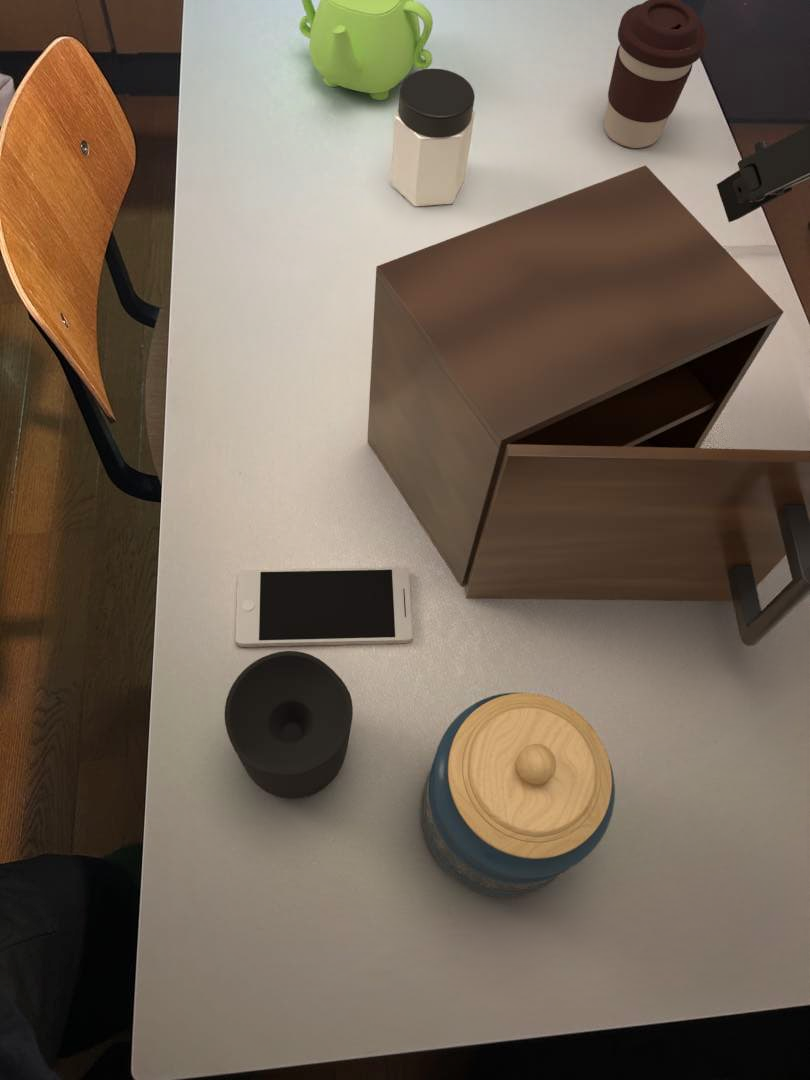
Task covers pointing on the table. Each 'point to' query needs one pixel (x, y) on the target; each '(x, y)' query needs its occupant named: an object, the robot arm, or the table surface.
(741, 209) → the robot arm
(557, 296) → the cupboard
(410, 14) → the teapot
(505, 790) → the canister
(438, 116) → the jar
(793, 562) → the cupboard door
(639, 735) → the table surface
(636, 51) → the coffee cup
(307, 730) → the pen holder
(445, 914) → the table surface
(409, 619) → the smartphone
